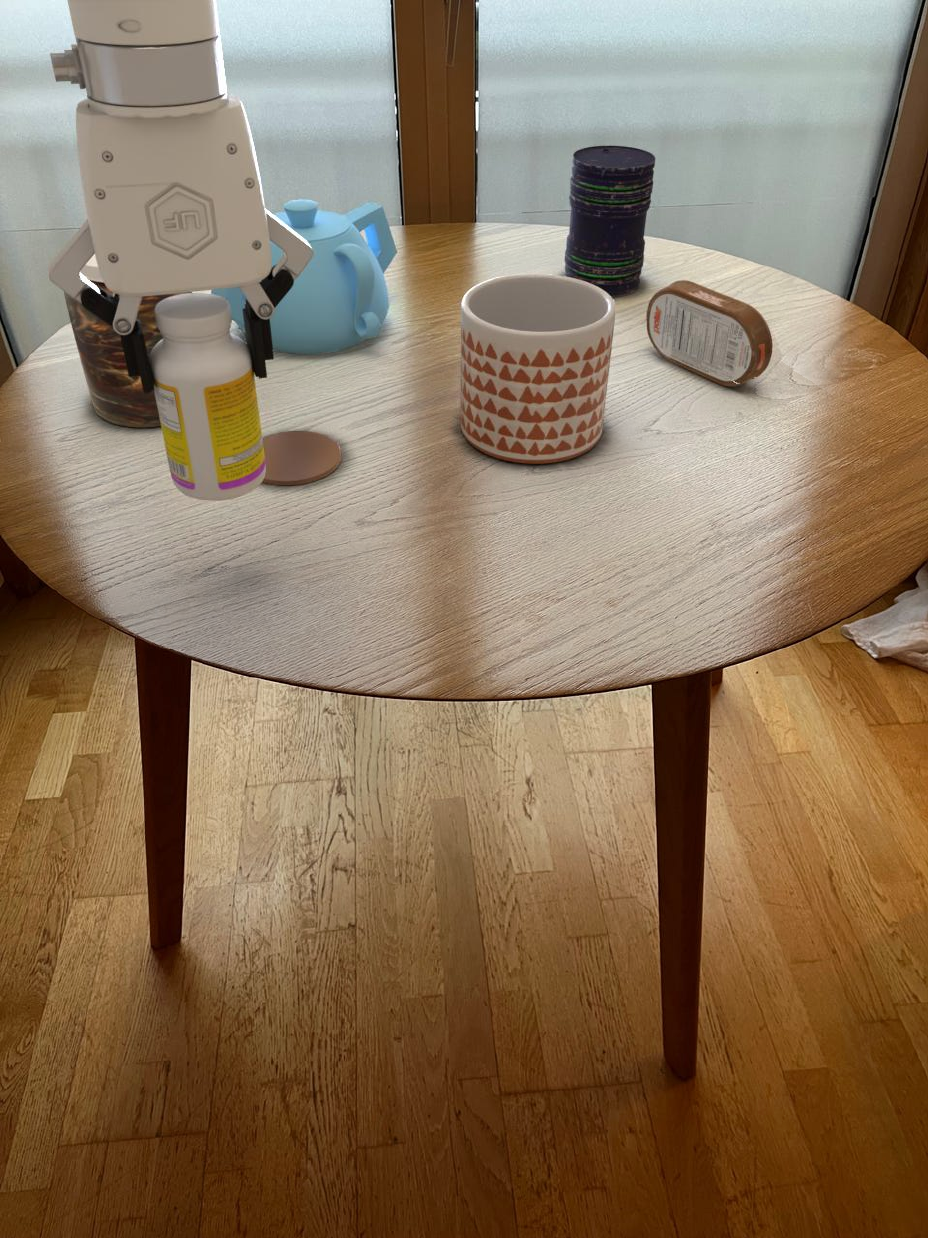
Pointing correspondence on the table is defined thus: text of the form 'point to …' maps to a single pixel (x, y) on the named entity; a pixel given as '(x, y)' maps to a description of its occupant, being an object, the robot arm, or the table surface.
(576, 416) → the planter
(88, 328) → the jar
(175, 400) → the supplement bottle
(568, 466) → the table surface
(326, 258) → the teapot
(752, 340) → the tin
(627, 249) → the storage jar
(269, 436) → the brown coaster
